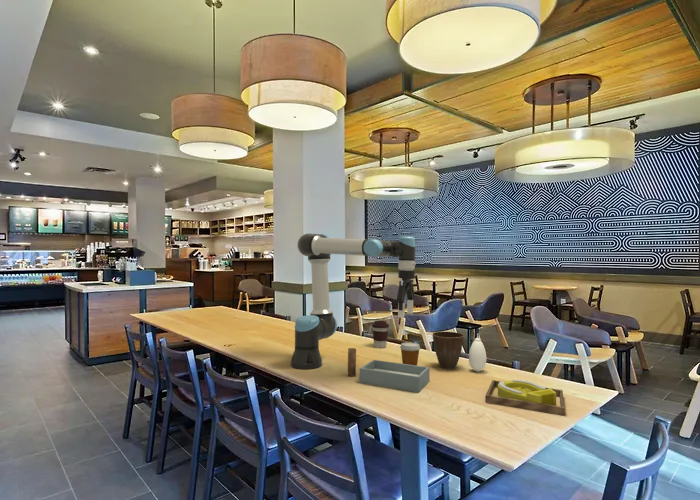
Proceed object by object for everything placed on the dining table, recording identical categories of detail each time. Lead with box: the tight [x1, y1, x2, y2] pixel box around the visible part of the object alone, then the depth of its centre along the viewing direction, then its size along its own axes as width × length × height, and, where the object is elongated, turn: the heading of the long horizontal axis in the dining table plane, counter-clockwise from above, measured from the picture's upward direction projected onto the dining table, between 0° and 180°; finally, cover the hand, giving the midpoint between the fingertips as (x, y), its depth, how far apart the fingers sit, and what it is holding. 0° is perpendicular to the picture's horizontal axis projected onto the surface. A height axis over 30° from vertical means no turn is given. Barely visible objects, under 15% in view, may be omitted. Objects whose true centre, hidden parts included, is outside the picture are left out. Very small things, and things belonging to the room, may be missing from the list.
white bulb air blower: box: [468, 333, 487, 373], centre depth 190 cm, size 8×8×18 cm
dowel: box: [347, 347, 357, 378], centre depth 181 cm, size 4×4×12 cm
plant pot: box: [431, 331, 465, 370], centre depth 197 cm, size 15×15×16 cm
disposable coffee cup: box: [399, 342, 421, 366], centre depth 191 cm, size 10×10×12 cm
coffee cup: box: [371, 320, 390, 349], centre depth 238 cm, size 10×10×15 cm
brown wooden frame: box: [484, 379, 565, 416], centre depth 154 cm, size 26×21×2 cm
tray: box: [358, 359, 431, 393], centre depth 173 cm, size 26×16×6 cm, turn 64°
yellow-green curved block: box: [497, 378, 557, 406], centre depth 154 cm, size 16×21×5 cm
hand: (405, 315), depth 187 cm, fingers open, 13 cm apart
